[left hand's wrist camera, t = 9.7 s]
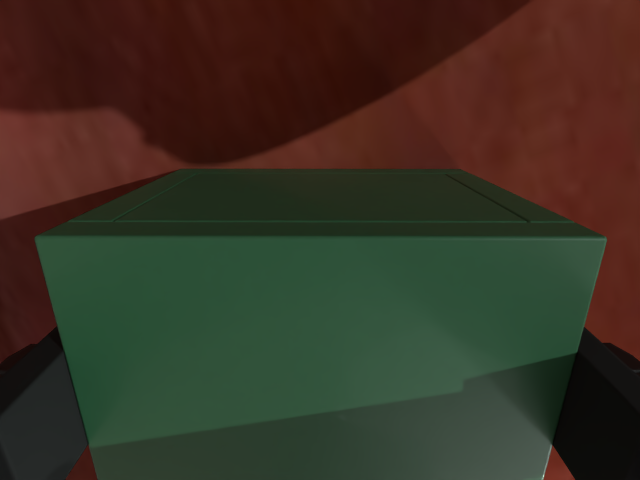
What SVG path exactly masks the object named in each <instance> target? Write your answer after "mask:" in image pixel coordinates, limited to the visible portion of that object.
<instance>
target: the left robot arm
mask: <svg viewBox="0 0 640 480" xmlns="http://www.w3.org/2000/svg"><path fill="white" fill-rule="evenodd" d="M87 445H88V441H87V437H86V434H85V430H84V426H83V422H82V418H81V415H80V411H79V407H78V403H77V399H76V396H75V392H74V388H73V384H72V380H71V377H70V373H69V369H68V365H67V361H66V358H65V354H64V350H63V346H62V342H61V339H60V335H59V331H58V327H56V328H55V329H53V330H52V331H51V332H50V333H49V334H48V335H47V336H46V337H45V338H43V339H42V340H41V341H40V342H39V343H38V344H30V345H29V346H27V347H25V348H23V349H21V350H20V351H18V352H16V353H14V354H13V355H11V356H9V357H8V358H6V359H5V360H4V361H3V362H2V363H1V364H0V480H65V479H66V477H67V476H68V474H69V473H70V471H71V470H72V468H73V467H74V465H75V464H76V462H77V460H78V459H79V457H80V456H81V454H82V453H83V451H84V450H85V448H86V447H87ZM552 445H553V446H554V448H555V449H556V451H557V452H558V454H559V455H560V457H561V458H562V460H563V461H564V463H565V464H566V466H567V467H568V469H569V471H570V472H571V474H572V475H573V477H574V478H575V480H640V361H638V360H637V359H636V358H635V357H634V356H633V355H631V354H629V353H627V352H625V351H624V350H622V349H620V348H618V347H616V346H615V345H613V344H611V343H601V342H600V341H599V340H598V339H597V338H596V337H595V336H594V335H593V334H591V333H590V332H589V331H588V330H587V329H586V328H585V327H584V328H583V332H582V336H581V339H580V343H579V347H578V351H577V354H576V358H575V362H574V366H573V369H572V373H571V377H570V381H569V384H568V388H567V392H566V396H565V399H564V403H563V407H562V411H561V414H560V418H559V422H558V426H557V429H556V433H555V437H554V441H553V444H552Z"/></svg>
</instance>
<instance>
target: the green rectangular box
mask: <svg viewBox="0 0 640 480" xmlns="http://www.w3.org/2000/svg"><path fill="white" fill-rule="evenodd" d="M34 240H35V244H36V247H37V251H38V255H39V259H40V263H41V266H42V270H43V274H44V278H45V282H46V285H47V289H48V293H49V297H50V301H51V304H52V308H53V312H54V316H55V320H56V323H57V327H58V331H59V335H60V339H61V342H62V346H63V350H64V354H65V358H66V361H67V365H68V369H69V373H70V377H71V380H72V384H73V388H74V392H75V396H76V399H77V403H78V407H79V411H80V415H81V418H82V422H83V426H84V430H85V434H86V437H87V441H88V445H89V449H90V453H91V456H92V460H93V464H94V468H95V472H96V475H97V479H98V480H543V478H544V474H545V471H546V467H547V463H548V459H549V456H550V452H551V448H552V444H553V441H554V437H555V433H556V429H557V426H558V422H559V418H560V414H561V411H562V407H563V403H564V399H565V396H566V392H567V388H568V384H569V381H570V377H571V373H572V369H573V366H574V362H575V358H576V354H577V351H578V347H579V343H580V339H581V336H582V332H583V328H584V324H585V321H586V317H587V313H588V309H589V306H590V302H591V298H592V294H593V291H594V287H595V283H596V279H597V276H598V272H599V268H600V264H601V261H602V257H603V253H604V249H605V246H606V242H607V238H606V237H605V236H603V235H601V234H599V233H596V232H594V231H592V230H590V229H588V228H586V227H584V226H581V225H579V224H577V223H574V222H573V221H571V220H569V219H567V218H565V217H563V216H560V215H558V214H556V213H554V212H552V211H550V210H548V209H545V208H543V207H541V206H539V205H537V204H535V203H532V202H530V201H528V200H526V199H524V198H522V197H520V196H517V195H515V194H513V193H511V192H509V191H507V190H505V189H502V188H500V187H498V186H496V185H494V184H492V183H490V182H487V181H485V180H483V179H481V178H479V177H477V176H475V175H472V174H470V173H467V172H465V171H463V170H461V169H180V170H177V171H175V172H173V173H170V174H168V175H166V176H164V177H162V178H160V179H157V180H155V181H153V182H151V183H149V184H147V185H144V186H142V187H140V188H138V189H136V190H134V191H131V192H129V193H127V194H125V195H123V196H121V197H118V198H116V199H114V200H112V201H110V202H108V203H105V204H103V205H101V206H99V207H97V208H95V209H93V210H90V211H88V212H86V213H84V214H82V215H80V216H77V217H75V218H73V219H71V220H69V221H68V222H65V223H63V224H60V225H58V226H56V227H54V228H52V229H50V230H48V231H45V232H43V233H41V234H39V235H37V236H35V239H34Z"/></svg>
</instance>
